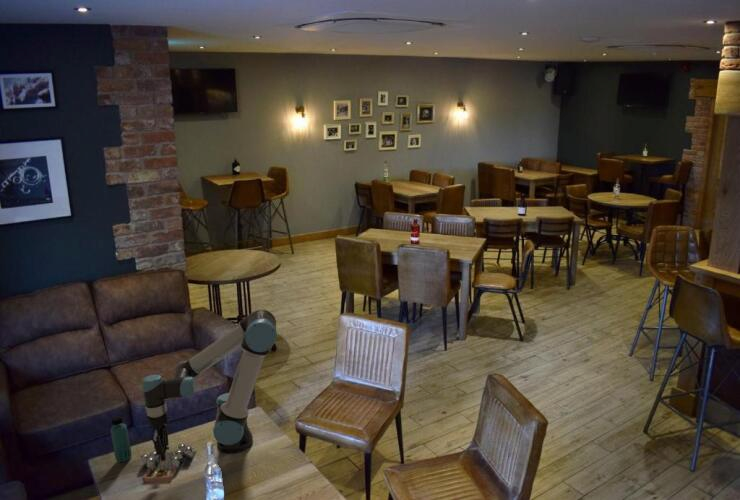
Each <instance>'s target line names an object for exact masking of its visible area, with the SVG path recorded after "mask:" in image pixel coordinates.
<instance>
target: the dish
mask: <svg viewBox="0 0 740 500" xmlns="http://www.w3.org/2000/svg"><path fill="white" fill-rule="evenodd" d="M151 473H152V472H151V471H150V469H148V471H147V472H145V474H144V476H143V477H142V481H143V483H150V482H151V483H152V482H153V483H154V482H171V481H172V480H173V479H174V477H175V474H176V473H177V471H176V467H175V468H174V469H173V471H171V474H170V475H169V476H168V475H167V476H162V477H156V476H150V474H151Z"/></svg>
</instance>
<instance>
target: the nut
mask: <svg viewBox="0 0 740 500" xmlns="http://www.w3.org/2000/svg"><path fill="white" fill-rule="evenodd" d="M154 474H155V477H162V476H168V471H167V470H166V468H160V469H158V470H157V471H154Z"/></svg>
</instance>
